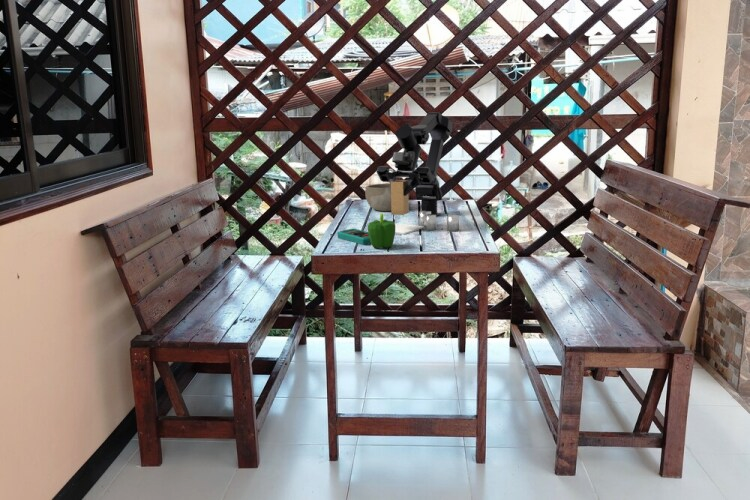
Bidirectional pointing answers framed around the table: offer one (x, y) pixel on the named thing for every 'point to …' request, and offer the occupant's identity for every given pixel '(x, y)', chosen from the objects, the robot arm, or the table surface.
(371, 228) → the bell pepper
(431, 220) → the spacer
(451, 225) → the cylinder
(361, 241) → the digital multimeter
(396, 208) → the tan tall block
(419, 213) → the cylinder
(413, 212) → the table surface
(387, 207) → the bowl
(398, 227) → the white mat
